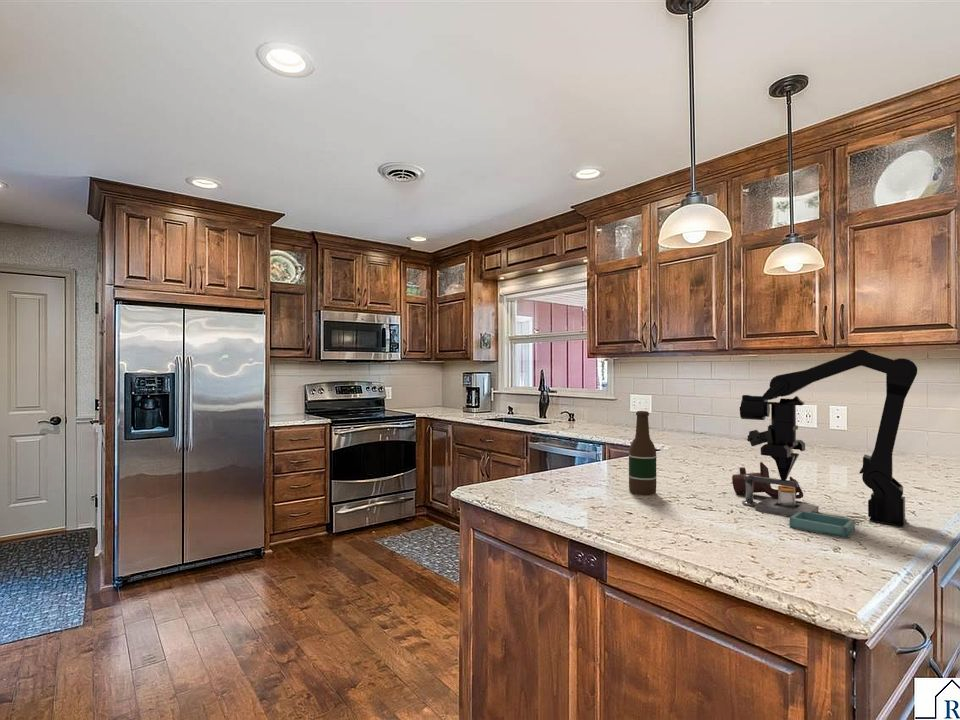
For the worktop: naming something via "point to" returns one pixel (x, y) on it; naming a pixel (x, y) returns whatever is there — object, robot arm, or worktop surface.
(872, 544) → the worktop surface
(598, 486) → the worktop surface
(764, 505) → the hitch plate
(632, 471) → the beer bottle
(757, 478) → the bar
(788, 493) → the jar with golden lid
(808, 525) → the tray
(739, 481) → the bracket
